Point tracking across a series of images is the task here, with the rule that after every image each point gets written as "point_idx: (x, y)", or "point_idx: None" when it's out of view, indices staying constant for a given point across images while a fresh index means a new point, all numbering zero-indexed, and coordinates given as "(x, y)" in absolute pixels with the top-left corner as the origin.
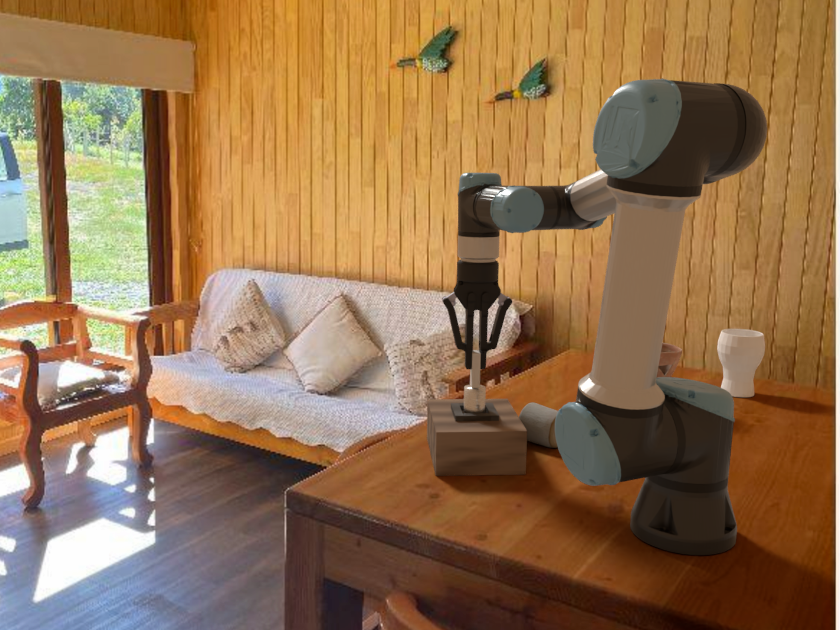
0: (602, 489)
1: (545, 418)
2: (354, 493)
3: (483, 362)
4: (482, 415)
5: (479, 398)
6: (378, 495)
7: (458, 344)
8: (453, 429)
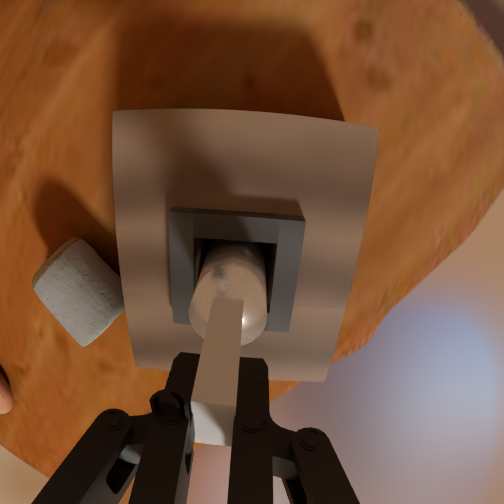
0: (46, 49)
1: (66, 273)
2: (483, 85)
3: (182, 374)
4: (219, 216)
5: (219, 269)
6: (453, 63)
7: (320, 450)
8: (326, 142)
